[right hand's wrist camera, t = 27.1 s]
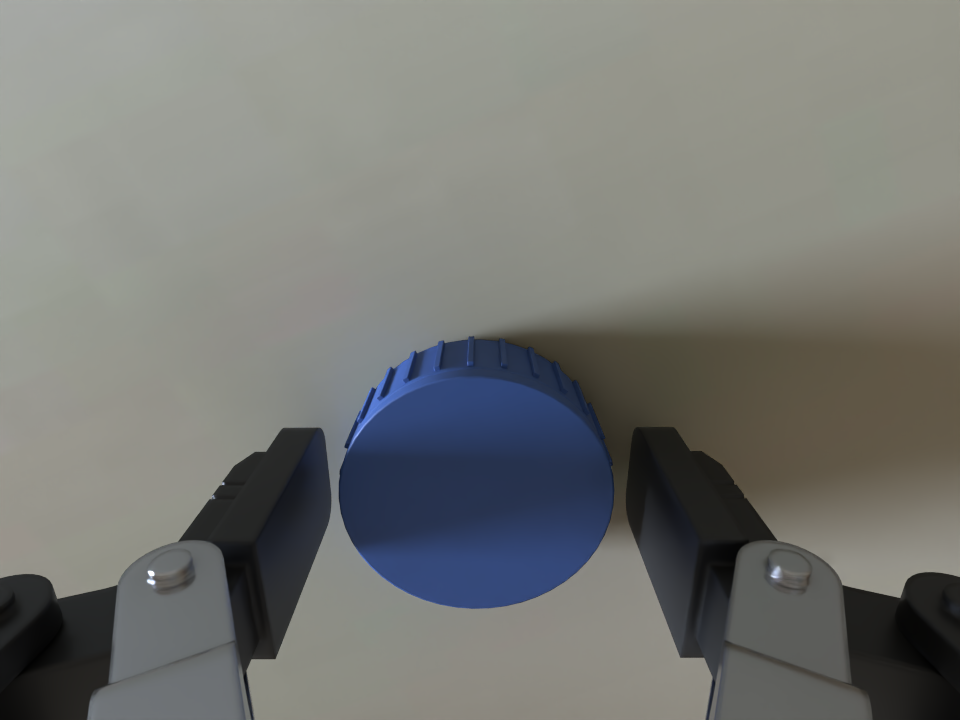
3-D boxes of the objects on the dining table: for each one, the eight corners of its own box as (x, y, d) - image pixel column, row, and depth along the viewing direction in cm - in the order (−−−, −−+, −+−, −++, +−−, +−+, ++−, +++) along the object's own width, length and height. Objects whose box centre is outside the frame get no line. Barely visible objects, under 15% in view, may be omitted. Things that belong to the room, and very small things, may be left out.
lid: (643, 473, 13) (670, 530, 11) (451, 583, 14) (447, 651, 12) (508, 283, 11) (513, 312, 9) (304, 424, 12) (274, 475, 10)
